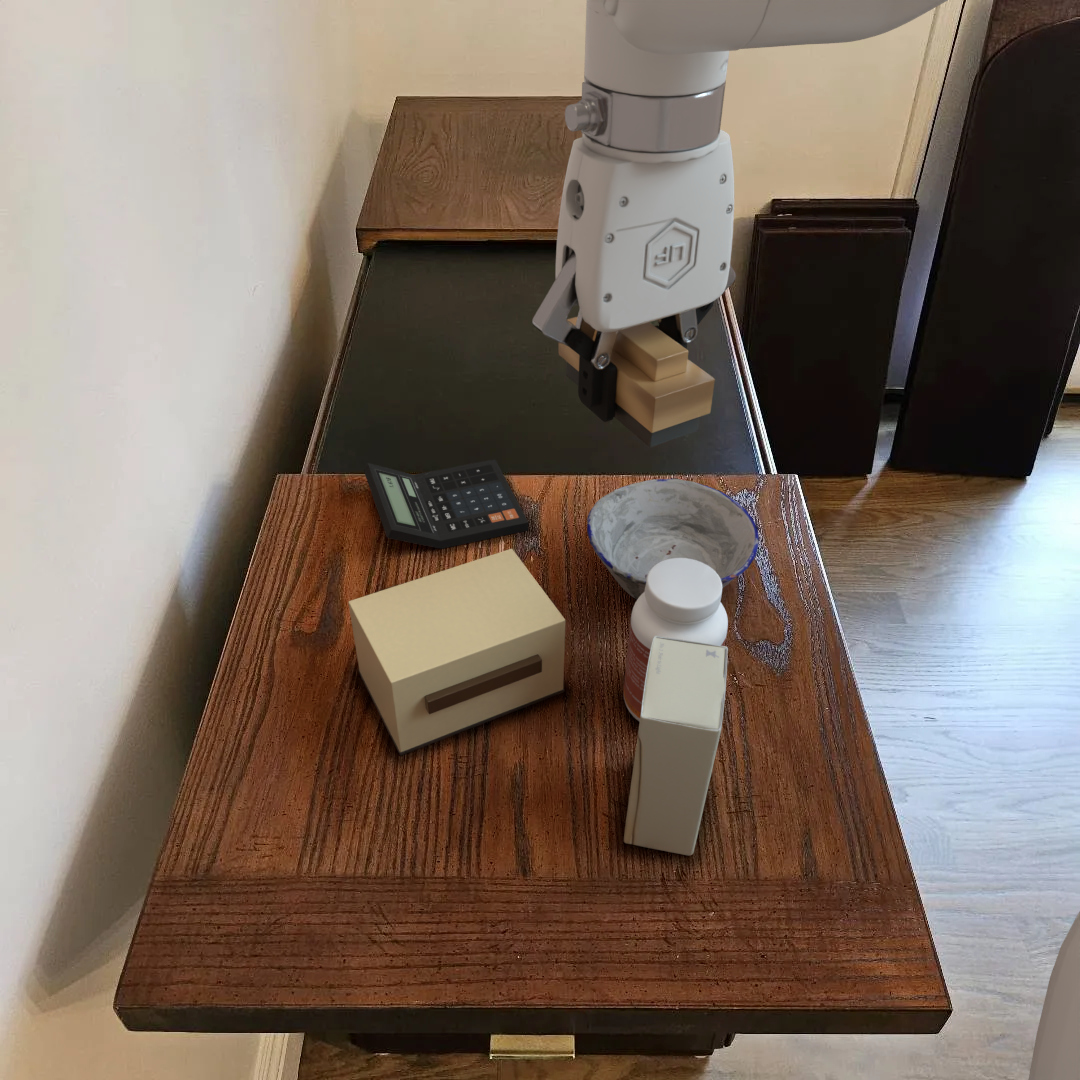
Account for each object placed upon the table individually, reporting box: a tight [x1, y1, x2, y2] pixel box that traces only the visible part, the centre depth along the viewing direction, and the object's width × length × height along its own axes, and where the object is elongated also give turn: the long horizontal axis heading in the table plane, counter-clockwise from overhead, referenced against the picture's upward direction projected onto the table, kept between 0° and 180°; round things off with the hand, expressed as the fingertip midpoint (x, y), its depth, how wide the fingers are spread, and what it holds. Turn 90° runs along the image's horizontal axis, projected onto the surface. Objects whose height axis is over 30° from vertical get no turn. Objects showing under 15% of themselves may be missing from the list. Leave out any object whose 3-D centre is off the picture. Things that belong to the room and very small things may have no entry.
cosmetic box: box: [623, 636, 729, 856], centre depth 58 cm, size 6×4×12 cm
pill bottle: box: [623, 558, 729, 723], centre depth 65 cm, size 6×6×11 cm
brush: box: [558, 316, 716, 448], centre depth 64 cm, size 11×4×6 cm, turn 30°
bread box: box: [348, 548, 566, 757], centre depth 67 cm, size 9×12×7 cm
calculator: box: [363, 458, 529, 550], centre depth 83 cm, size 9×12×3 cm
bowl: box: [586, 477, 760, 601], centre depth 77 cm, size 13×13×5 cm
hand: (630, 397), depth 66 cm, fingers closed on brush, 4 cm apart
